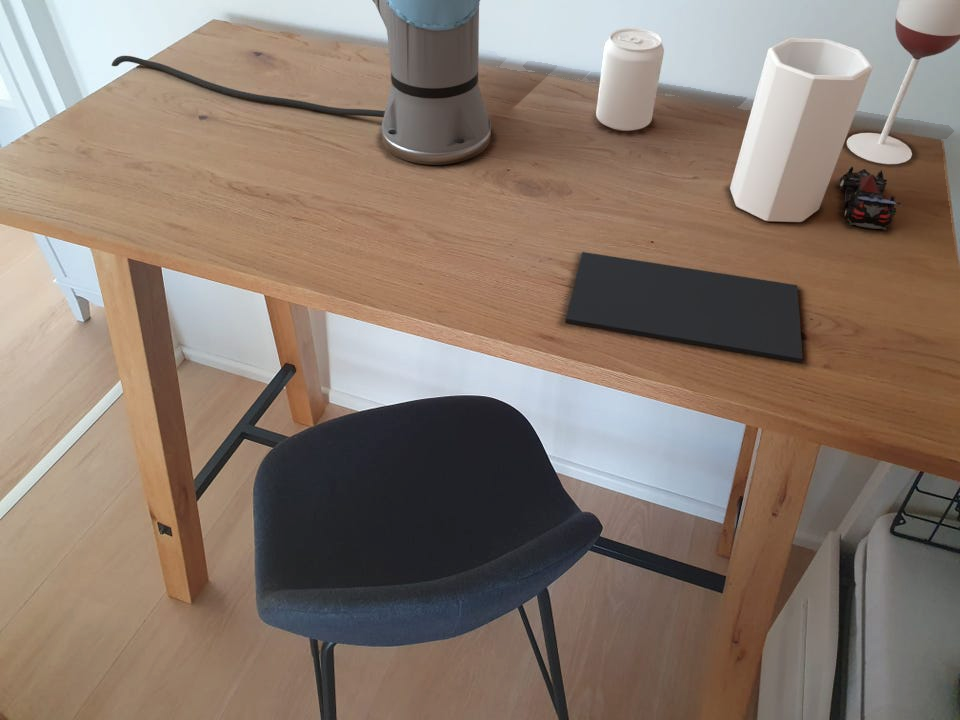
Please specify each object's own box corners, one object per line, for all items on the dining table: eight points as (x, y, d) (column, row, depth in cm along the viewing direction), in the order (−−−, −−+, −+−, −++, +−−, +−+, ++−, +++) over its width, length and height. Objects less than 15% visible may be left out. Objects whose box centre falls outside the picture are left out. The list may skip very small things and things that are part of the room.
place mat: (565, 322, 81) (565, 318, 80) (581, 255, 89) (582, 251, 89) (801, 363, 77) (802, 358, 76) (795, 289, 85) (797, 285, 85)
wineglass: (842, 158, 105) (910, -19, 89) (846, 125, 112) (910, -45, 96) (913, 172, 103) (996, -7, 87) (914, 138, 110) (991, -35, 93)
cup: (824, 188, 100) (877, 47, 87) (812, 233, 93) (868, 86, 80) (738, 168, 103) (777, 29, 90) (720, 211, 96) (759, 66, 83)
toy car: (840, 226, 94) (852, 197, 91) (833, 175, 102) (844, 148, 99) (893, 233, 93) (906, 205, 90) (882, 182, 101) (894, 154, 98)
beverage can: (637, 139, 108) (651, 56, 100) (586, 124, 111) (595, 41, 103) (659, 116, 113) (674, 35, 105) (609, 102, 116) (620, 22, 108)
